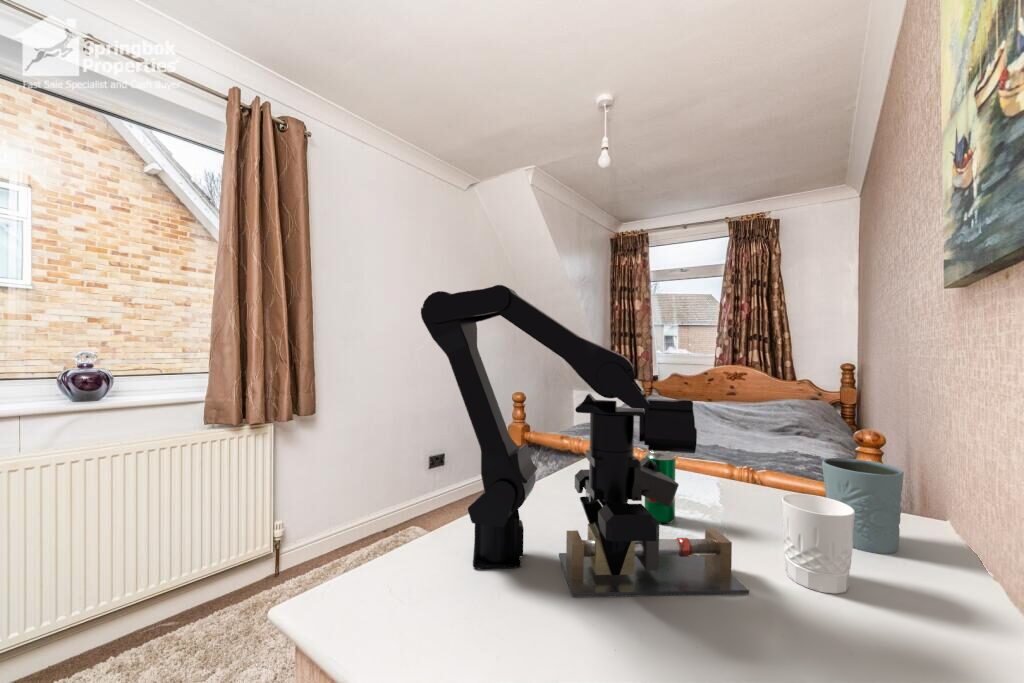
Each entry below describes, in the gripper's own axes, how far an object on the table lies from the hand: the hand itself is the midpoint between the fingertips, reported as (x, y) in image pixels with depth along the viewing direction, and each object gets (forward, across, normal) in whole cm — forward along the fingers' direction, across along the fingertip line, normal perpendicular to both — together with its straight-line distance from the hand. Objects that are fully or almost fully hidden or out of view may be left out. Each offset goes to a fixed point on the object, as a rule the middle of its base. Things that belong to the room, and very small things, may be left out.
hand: (609, 564), depth 57 cm
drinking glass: (+2, +9, -43) cm, 44 cm away
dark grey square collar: (0, 0, -5) cm, 5 cm away
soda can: (+2, +18, -14) cm, 23 cm away
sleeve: (0, 0, 0) cm, 0 cm away
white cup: (+2, -2, -27) cm, 27 cm away
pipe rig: (+1, 0, -5) cm, 5 cm away
